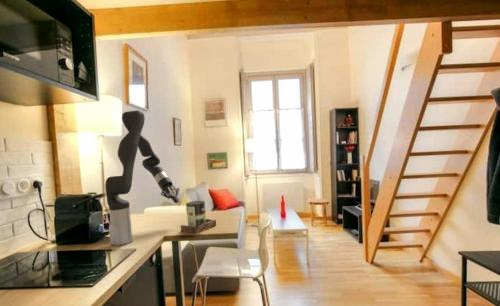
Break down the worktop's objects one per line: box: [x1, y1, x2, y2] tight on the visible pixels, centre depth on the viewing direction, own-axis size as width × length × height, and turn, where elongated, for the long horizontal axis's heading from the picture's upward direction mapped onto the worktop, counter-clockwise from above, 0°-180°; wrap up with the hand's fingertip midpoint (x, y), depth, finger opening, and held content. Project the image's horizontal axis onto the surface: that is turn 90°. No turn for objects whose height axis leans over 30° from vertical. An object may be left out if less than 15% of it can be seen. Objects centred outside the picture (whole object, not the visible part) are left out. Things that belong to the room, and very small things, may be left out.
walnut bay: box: [180, 218, 217, 234], centre depth 155 cm, size 16×11×3 cm
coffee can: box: [185, 200, 207, 227], centre depth 156 cm, size 10×10×14 cm
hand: (177, 202), depth 165 cm, fingers closed
